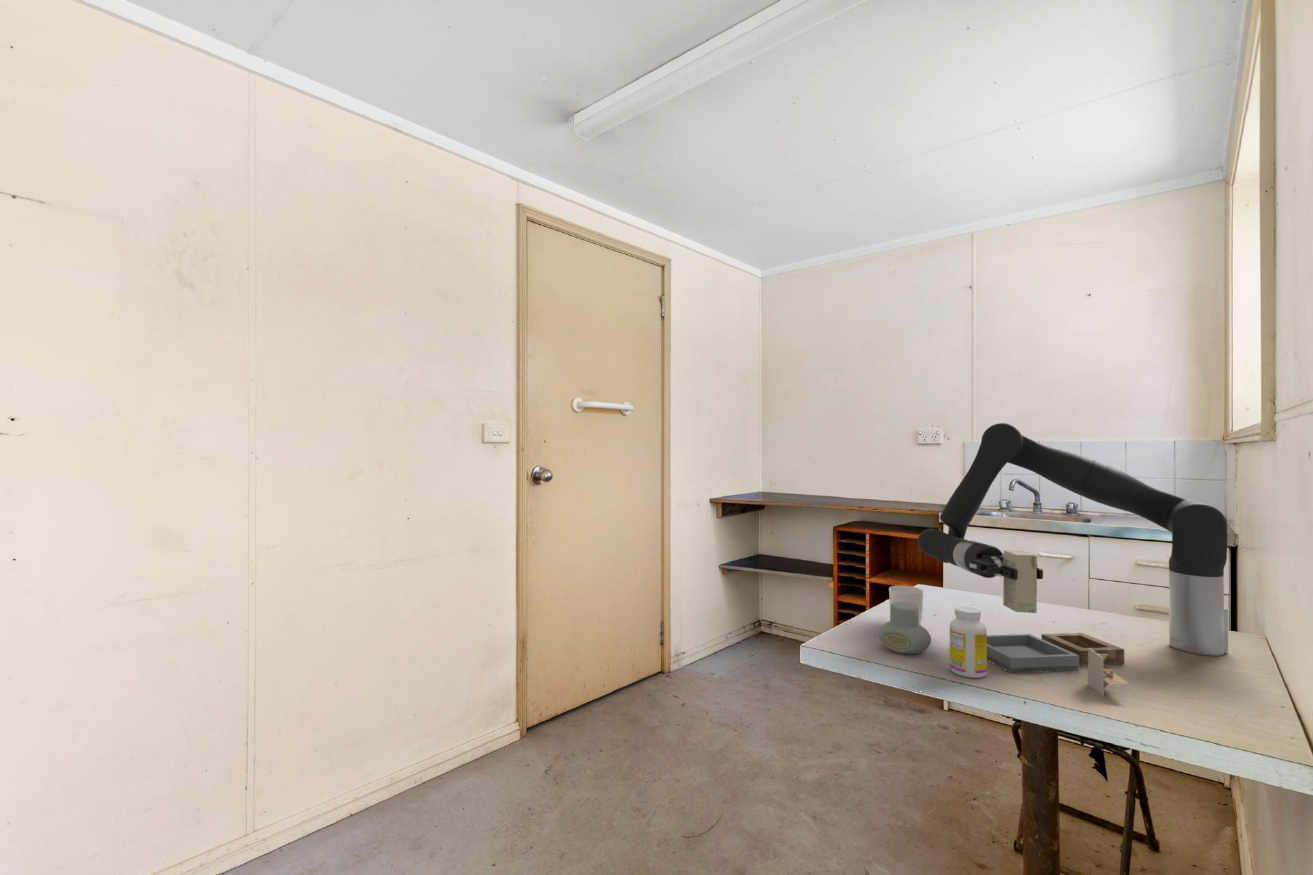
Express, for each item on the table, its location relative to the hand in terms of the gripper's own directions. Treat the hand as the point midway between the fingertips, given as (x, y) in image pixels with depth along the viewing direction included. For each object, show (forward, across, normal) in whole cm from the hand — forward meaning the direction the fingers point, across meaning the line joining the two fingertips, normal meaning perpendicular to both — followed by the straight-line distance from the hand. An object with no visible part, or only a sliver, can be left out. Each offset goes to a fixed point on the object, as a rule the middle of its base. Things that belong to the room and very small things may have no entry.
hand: (1028, 574), depth 126 cm
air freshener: (-10, -22, +19) cm, 31 cm away
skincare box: (-3, 0, +8) cm, 9 cm away
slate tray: (-2, 0, +19) cm, 19 cm away
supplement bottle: (+4, -16, +19) cm, 25 cm away
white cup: (-24, -14, +19) cm, 34 cm away
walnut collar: (-3, +15, +19) cm, 24 cm away
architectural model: (+14, +4, +19) cm, 24 cm away
